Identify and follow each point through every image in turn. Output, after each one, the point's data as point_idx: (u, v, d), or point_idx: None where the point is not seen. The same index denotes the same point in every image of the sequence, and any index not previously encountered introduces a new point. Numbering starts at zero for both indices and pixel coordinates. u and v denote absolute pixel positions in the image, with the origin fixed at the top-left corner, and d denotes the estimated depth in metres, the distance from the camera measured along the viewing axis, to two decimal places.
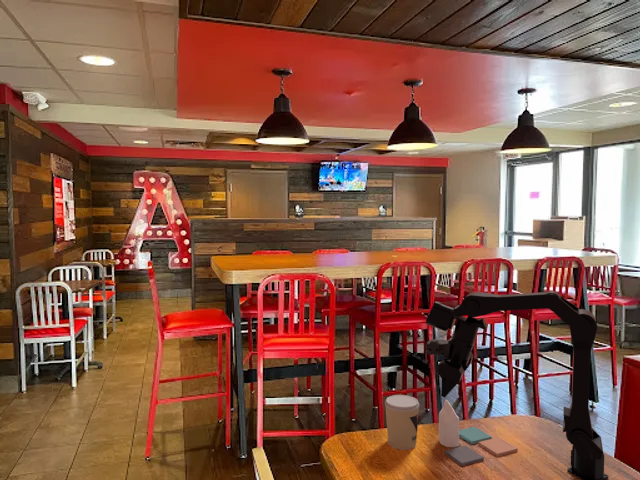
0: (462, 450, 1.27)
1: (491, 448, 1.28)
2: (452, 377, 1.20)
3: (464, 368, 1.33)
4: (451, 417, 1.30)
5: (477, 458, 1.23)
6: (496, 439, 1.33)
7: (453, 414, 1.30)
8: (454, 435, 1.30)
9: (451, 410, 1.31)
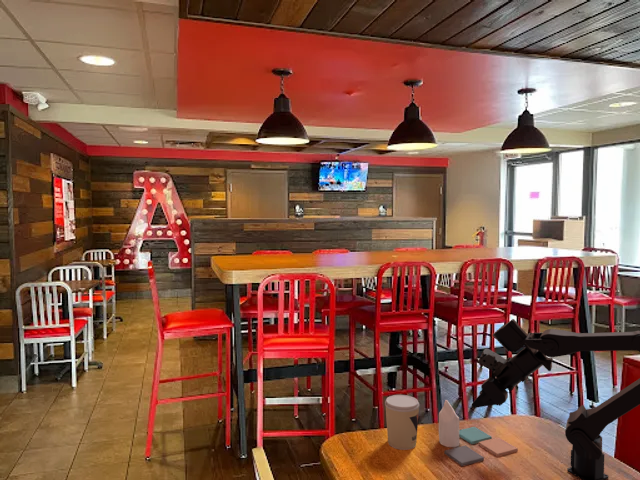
0: (462, 450, 1.27)
1: (491, 448, 1.28)
2: (495, 399, 1.17)
3: None
4: (451, 417, 1.30)
5: (477, 458, 1.23)
6: (496, 439, 1.33)
7: (453, 414, 1.30)
8: (454, 435, 1.30)
9: (451, 410, 1.31)
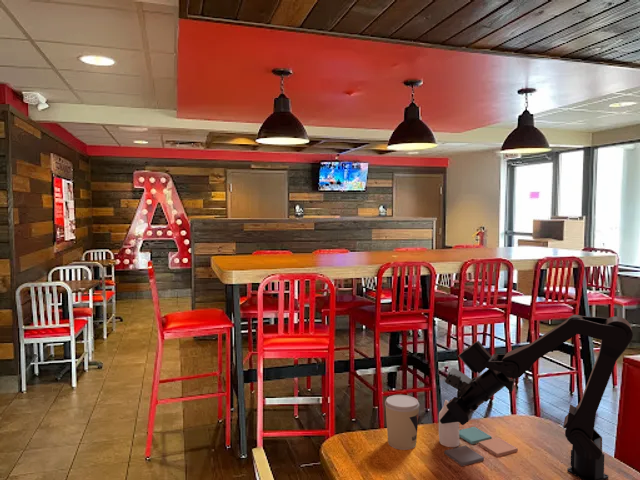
0: (462, 450, 1.27)
1: (491, 448, 1.28)
2: (458, 419, 1.22)
3: (468, 408, 1.33)
4: None
5: (477, 458, 1.23)
6: (496, 439, 1.33)
7: None
8: (454, 435, 1.30)
9: None
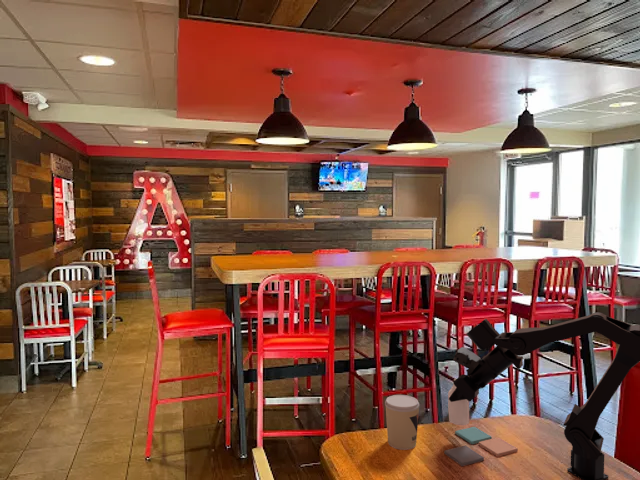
0: (462, 450, 1.27)
1: (491, 448, 1.28)
2: (465, 395, 1.23)
3: (478, 387, 1.34)
4: None
5: (477, 458, 1.23)
6: (496, 439, 1.33)
7: None
8: (463, 413, 1.31)
9: None
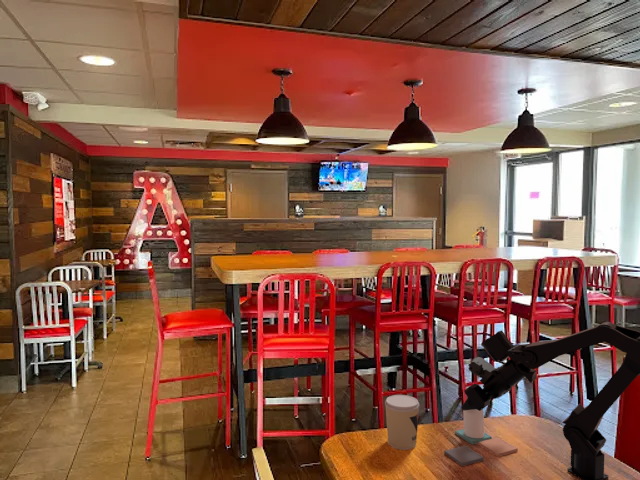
0: (462, 450, 1.27)
1: (491, 448, 1.28)
2: (475, 404, 1.26)
3: None
4: None
5: (477, 458, 1.23)
6: (496, 439, 1.33)
7: None
8: (477, 426, 1.33)
9: None
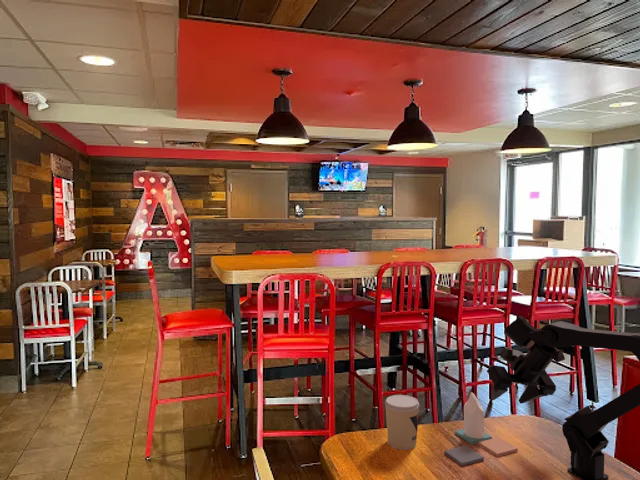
0: (462, 450, 1.27)
1: (491, 448, 1.28)
2: (493, 381, 1.26)
3: (536, 394, 1.30)
4: (474, 409, 1.33)
5: (477, 458, 1.23)
6: (496, 439, 1.33)
7: (476, 406, 1.33)
8: (477, 427, 1.33)
9: (475, 402, 1.34)
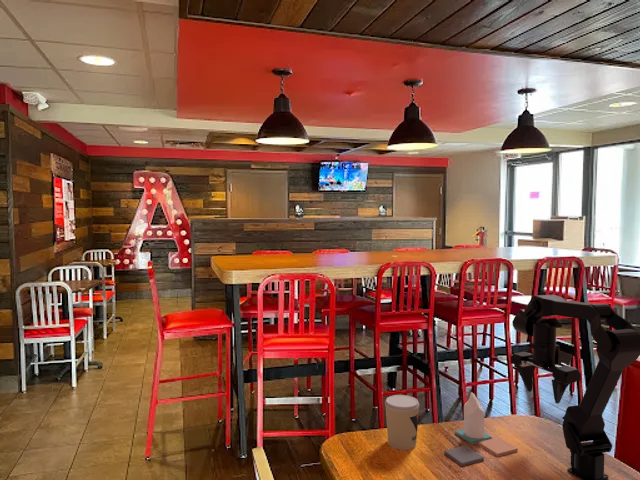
0: (462, 450, 1.27)
1: (491, 448, 1.28)
2: None
3: None
4: (474, 409, 1.33)
5: (477, 458, 1.23)
6: (496, 439, 1.33)
7: (476, 406, 1.33)
8: (477, 427, 1.33)
9: (475, 402, 1.34)
